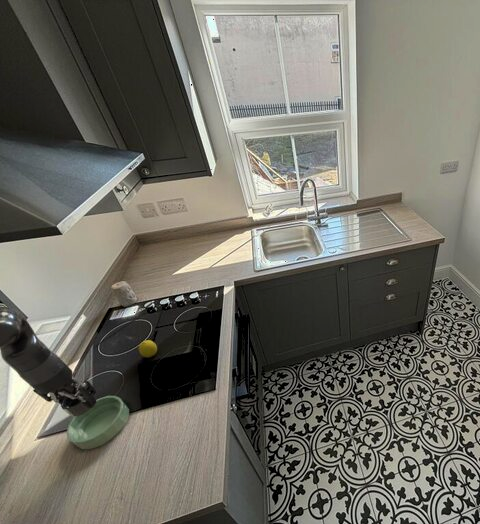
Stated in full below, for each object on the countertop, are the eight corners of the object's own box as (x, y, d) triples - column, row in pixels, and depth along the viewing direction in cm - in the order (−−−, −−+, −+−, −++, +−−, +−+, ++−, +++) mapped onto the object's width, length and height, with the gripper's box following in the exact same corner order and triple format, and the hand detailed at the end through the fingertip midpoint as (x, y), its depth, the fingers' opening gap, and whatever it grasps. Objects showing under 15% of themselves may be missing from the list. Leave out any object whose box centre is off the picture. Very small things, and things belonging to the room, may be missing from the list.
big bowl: (72, 460, 85) (62, 452, 82) (80, 418, 95) (71, 410, 92) (129, 433, 90) (121, 425, 88) (130, 396, 101) (123, 388, 98)
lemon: (161, 348, 118) (153, 334, 113) (158, 359, 113) (149, 345, 109) (146, 352, 116) (137, 338, 112) (143, 363, 112) (133, 349, 108)
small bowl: (68, 421, 83) (58, 413, 80) (72, 403, 87) (63, 395, 85) (94, 410, 85) (85, 402, 82) (97, 393, 90) (88, 385, 87)
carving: (120, 310, 138) (106, 290, 131) (126, 299, 144) (114, 280, 138) (134, 307, 139) (122, 288, 132) (140, 297, 145) (128, 278, 138)
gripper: (4, 385, 73) (47, 419, 83) (60, 383, 73) (96, 417, 82) (31, 360, 79) (68, 394, 89) (82, 357, 79) (114, 392, 89)
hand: (81, 405), depth 86 cm, fingers closed on small bowl, 6 cm apart
